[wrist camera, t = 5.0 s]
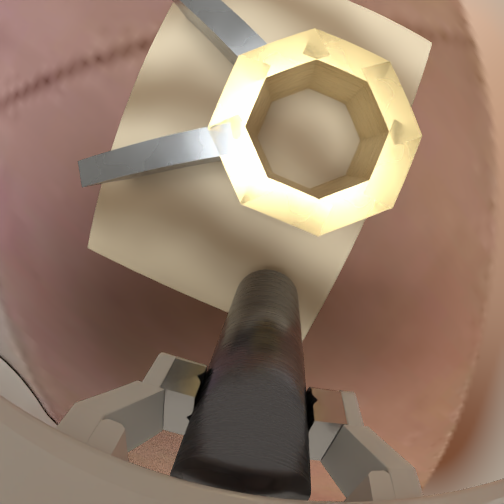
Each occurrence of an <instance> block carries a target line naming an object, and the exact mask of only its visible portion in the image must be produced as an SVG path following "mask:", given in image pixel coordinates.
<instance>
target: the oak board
mask: <svg viewBox="0 0 504 504" xmlns="http://www.w3.org/2000/svg"><path fill="white" fill-rule="evenodd" d="M221 1H223V2H224V3H225V4H226V5H227V6H228V7H229V8H230V9H232V10H233V11H234V12H235V13H236V14H237V15H238V16H239V17H240V18H241V19H242V20H243V21H245V22H246V23H247V24H248V25H249V26H250V27H251V28H252V29H253V30H254V31H255V32H256V33H257V34H258V35H259V36H260V37H261V38H262V39H263V40H264V41H265V42H266V43H267V44H269V43H272V42H274V41H277V40H280V39H283V38H286V37H289V36H292V35H295V34H298V33H301V32H304V31H307V30H310V29H314V28H316V29H318V30H321V31H323V32H326V33H328V34H331V35H333V36H336V37H338V38H341V39H343V40H345V41H348V42H350V43H352V44H355V45H357V46H359V47H361V48H363V49H365V50H368V51H370V52H372V53H374V54H376V55H378V56H380V57H382V58H384V59H386V60H388V61H390V62H391V65H392V67H393V69H394V71H395V73H396V75H397V77H398V79H399V81H400V83H401V86H402V88H403V90H404V92H405V95H406V97H407V99H408V102H409V104H410V106H411V107H412V104H413V101H414V98H415V95H416V92H417V89H418V87H419V84H420V81H421V77H422V74H423V71H424V68H425V65H426V62H427V59H428V55H429V52H430V49H431V45H432V43H431V42H430V41H428V40H426V39H425V38H423V37H421V36H419V35H418V34H416V33H414V32H412V31H411V30H409V29H407V28H405V27H403V26H401V25H399V24H398V23H396V22H394V21H392V20H390V19H388V18H386V17H384V16H382V15H379V14H377V13H375V12H373V11H371V10H369V9H366V8H364V7H362V6H360V5H357V4H355V3H352V2H350V1H348V0H221ZM233 67H234V65H233V64H232V63H231V62H230V61H229V60H228V59H227V58H226V57H225V56H224V55H223V54H222V53H221V52H220V51H219V50H218V49H217V48H216V46H215V45H214V44H213V43H212V42H211V41H210V40H209V39H208V38H207V37H206V36H205V35H204V34H203V33H202V32H201V31H200V30H199V29H198V28H197V27H195V26H194V25H193V24H192V23H191V22H190V21H189V20H188V19H187V18H186V17H185V15H184V14H183V13H182V12H181V10H180V9H179V8H178V7H177V5H176V4H175V3H174V2H173V4H172V6H171V8H170V10H169V11H168V13H167V15H166V17H165V19H164V21H163V23H162V25H161V27H160V29H159V31H158V33H157V35H156V37H155V39H154V41H153V43H152V45H151V48H150V50H149V52H148V54H147V56H146V59H145V61H144V63H143V65H142V68H141V70H140V72H139V75H138V77H137V80H136V82H135V85H134V87H133V90H132V92H131V95H130V97H129V100H128V103H127V105H126V108H125V111H124V114H123V116H122V119H121V122H120V125H119V128H118V131H117V134H116V137H115V140H114V143H113V146H112V150H115V149H118V148H122V147H125V146H129V145H132V144H136V143H140V142H144V141H147V140H151V139H155V138H159V137H163V136H168V135H172V134H176V133H180V132H185V131H190V130H194V129H199V128H204V127H208V126H209V123H210V121H211V119H212V116H213V114H214V111H215V109H216V106H217V104H218V101H219V99H220V97H221V94H222V92H223V90H224V87H225V85H226V83H227V80H228V78H229V76H230V74H231V71H232V69H233ZM258 139H259V141H260V144H261V146H262V148H263V151H264V153H265V155H266V157H267V160H268V162H269V164H270V167H271V169H272V171H273V173H274V174H277V175H279V176H282V177H284V178H286V179H289V180H291V181H294V182H296V183H298V184H301V185H303V186H305V187H307V188H312V187H315V186H317V185H320V184H323V183H325V182H328V181H330V180H333V179H336V178H338V177H341V176H344V175H346V173H347V170H348V168H349V166H350V163H351V161H352V159H353V156H354V154H355V151H356V149H357V147H358V144H359V142H360V138H359V136H358V133H357V131H356V128H355V126H354V124H353V121H352V119H351V117H350V114H349V112H348V110H347V108H346V105H345V104H343V103H341V102H339V101H337V100H335V99H332V98H330V97H328V96H325V95H323V94H321V93H318V92H316V91H314V90H311V89H309V88H308V89H306V90H303V91H300V92H297V93H295V94H292V95H289V96H287V97H284V98H281V99H279V100H276V101H274V102H272V104H271V106H270V109H269V111H268V113H267V116H266V118H265V121H264V123H263V125H262V128H261V130H260V133H259V135H258ZM112 150H111V151H112ZM365 219H366V218H365ZM365 219H362V220H360V221H357V222H354V223H352V224H349V225H347V226H344V227H341V228H339V229H336V230H334V231H331V232H328V233H326V234H323V235H321V236H319V237H317V236H316V235H313V234H311V233H309V232H306V231H304V230H302V229H299V228H297V227H295V226H292V225H290V224H288V223H285V222H283V221H281V220H278V219H276V218H274V217H271V216H269V215H266V214H264V213H262V212H259V211H257V210H254V209H252V208H249V207H247V206H245V205H242V204H240V201H239V199H238V197H237V194H236V192H235V190H234V187H233V185H232V183H231V181H230V178H229V176H228V174H227V171H226V169H225V167H224V165H223V162H222V161H217V162H211V163H206V164H200V165H195V166H189V167H184V168H179V169H174V170H169V171H164V172H160V173H155V174H150V175H146V176H141V177H137V178H133V179H127V180H120V181H114V182H108V183H103V184H102V185H101V189H100V192H99V197H98V201H97V205H96V209H95V213H94V218H93V223H92V227H91V232H90V237H89V242H88V248H89V249H91V250H93V251H95V252H96V253H98V254H100V255H103V256H105V257H107V258H109V259H111V260H113V261H115V262H117V263H119V264H121V265H123V266H125V267H127V268H129V269H131V270H133V271H135V272H138V273H140V274H142V275H144V276H146V277H148V278H150V279H153V280H155V281H157V282H159V283H161V284H163V285H166V286H168V287H170V288H172V289H175V290H177V291H179V292H181V293H184V294H186V295H188V296H190V297H193V298H195V299H197V300H200V301H202V302H204V303H207V304H209V305H211V306H214V307H216V308H218V309H221V310H223V311H226V312H229V309H230V307H231V304H232V301H233V298H234V296H235V293H236V290H237V288H238V285H239V284H240V282H241V281H242V280H243V279H244V278H245V277H246V276H247V275H249V274H250V273H252V272H255V271H258V270H264V269H267V270H275V271H278V272H280V273H282V274H284V275H286V276H287V277H288V278H289V279H290V280H291V281H292V282H293V283H294V285H295V287H296V289H297V293H298V301H299V311H300V322H301V333H302V341H303V340H304V338H305V336H306V334H307V333H308V331H309V329H310V327H311V325H312V324H313V322H314V320H315V318H316V316H317V315H318V313H319V311H320V309H321V307H322V305H323V303H324V302H325V300H326V298H327V296H328V294H329V292H330V290H331V288H332V286H333V285H334V283H335V281H336V279H337V277H338V275H339V273H340V271H341V269H342V267H343V265H344V263H345V261H346V259H347V257H348V255H349V253H350V251H351V249H352V247H353V245H354V243H355V240H356V238H357V236H358V234H359V232H360V230H361V228H362V226H363V223H364V221H365Z"/></svg>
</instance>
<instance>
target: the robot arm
mask: <svg viewBox="0 0 504 504" xmlns="http://www.w3.org/2000/svg"><path fill="white" fill-rule="evenodd" d="M206 374H207V365H204V364H201V363H197V362H194V361H190V360H187V359H184V358H180V357H176V356H173V355H170V354H167V353H163V352H162V353H160V354H159V355H158V357H157V358H156V360H155V362H154V363H153V365H152V366H151V368H150V370H149V371H148V373H147V375H146V376H145V378H144V379H143V381H142V382H141V381H135V382H132V383H130V384H127V385H124V386H122V387H119V388H116V389H113V390H111V391H108V392H105V393H102V394H99V395H97V396H94V397H91V398H88V399H85V400H82V401H79V402H76V403H75V404H74V405H73V406H72V408H71V409H70V410H69V411H68V413H67V414H66V415H65V416H64V418H63V419H62V420H61V422H60V423H59V424H58V426H57V425H56V424H55V423H54V422H53V421H52V420H51V419H50V418H49V416H48V415H47V414H46V413H45V411H44V410H43V409H42V407H41V405H40V404H39V402H38V401H37V399H36V398H35V396H34V395H33V394H32V392H31V391H30V390H29V388H28V387H27V386H26V384H25V383H24V382H23V381H22V380H21V378H20V377H19V376H18V375H17V374H16V373H15V372H14V371H13V370H12V369H11V368H10V367H9V366H8V365H7V364H6V363H5V362H4V361H3V360H2V359H1V358H0V504H504V479H500V480H497V481H493V482H490V483H486V484H482V485H479V486H475V487H471V488H466V489H462V490H457V491H452V492H447V493H442V494H436V495H429V496H423V493H422V489H421V486H420V483H419V480H418V476H417V473H416V470H415V468H414V467H413V466H412V465H411V464H409V463H408V462H407V461H406V460H405V459H404V458H403V457H401V456H400V455H399V454H398V453H397V452H396V451H395V450H393V449H392V448H391V447H390V446H389V445H388V444H387V443H386V442H385V441H383V440H382V439H381V438H380V437H379V436H378V435H377V434H376V433H375V432H373V431H372V430H371V429H370V428H369V427H367V426H364V424H363V420H362V416H361V413H360V409H359V405H358V401H357V398H356V394H355V393H354V392H349V391H336V390H328V389H321V388H314V387H309V388H308V389H307V391H306V399H307V415H308V433H309V453H310V459H311V460H320V461H321V463H322V464H323V466H324V467H325V469H326V470H327V472H328V473H329V474H330V476H331V477H332V479H333V480H334V481H335V483H336V484H337V486H338V487H339V488H340V490H341V491H342V493H343V494H344V495H345V497H346V498H347V499H346V500H345V501H344V502H328V501H306V500H293V499H283V498H274V497H266V496H259V495H252V494H246V493H240V492H235V491H229V490H224V489H220V488H215V487H211V486H206V485H202V484H198V483H194V482H190V481H186V480H183V479H179V478H176V477H172V476H169V475H166V474H162V473H159V472H156V471H153V470H150V469H147V468H144V467H141V466H139V465H136V464H133V463H130V462H129V460H128V452H129V451H131V450H133V449H134V448H136V447H138V446H139V445H141V444H143V443H144V442H146V441H147V440H149V439H150V438H152V437H154V436H155V435H157V434H158V433H160V432H161V431H162V429H163V430H166V431H170V432H174V433H177V434H181V435H184V434H185V431H186V429H187V426H188V423H189V420H190V417H191V415H192V412H193V410H194V407H195V404H196V402H197V399H198V396H199V392H200V390H201V387H202V385H203V382H204V379H205V376H206Z"/></svg>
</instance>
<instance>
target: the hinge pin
mask: <svg viewBox="0 0 504 504" xmlns="http://www.w3.org/2000/svg"><path fill="white" fill-rule="evenodd" d="M170 476H172V477H176V478H179V479H183V480H186V481H190V482H194V483H198V484H202V485H206V486H211V487H215V488H220V489H224V490H229V491H235V492H240V493H246V494H252V495H259V496H266V497H274V498H283V499H293V500H306V501H308V499H309V498H310V495H311V478H310V453H309V433H308V415H307V399H306V384H305V370H304V357H303V345H302V333H301V322H300V311H299V301H298V293H297V289H296V287H295V285H294V283H293V282H292V281H291V280H290V279H289V278H288V277H287V276H286V275H284V274H282V273H280V272H278V271H275V270H267V269H264V270H258V271H255V272H252V273H250V274H249V275H247V276H246V277H245V278H244V279H243V280H242V281H241V282H240V284H239V285H238V288H237V290H236V293H235V296H234V298H233V301H232V304H231V307H230V309H229V312H228V315H227V318H226V321H225V323H224V326H223V329H222V332H221V334H220V337H219V340H218V343H217V345H216V348H215V351H214V354H213V356H212V359H211V362H210V365H209V368H208V370H207V374H206V376H205V379H204V382H203V385H202V387H201V390H200V392H199V396H198V399H197V402H196V404H195V407H194V410H193V412H192V415H191V417H190V420H189V423H188V426H187V429H186V431H185V434H184V437H183V440H182V442H181V445H180V448H179V451H178V454H177V456H176V459H175V462H174V465H173V467H172V470H171V473H170Z"/></svg>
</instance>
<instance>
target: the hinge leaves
mask: <svg viewBox="0 0 504 504" xmlns="http://www.w3.org/2000/svg"><path fill="white" fill-rule="evenodd" d="M173 2H174V3H175V4H176V5H177V7H178V8H179V9H180V10H181V12H182V13H183V14H184V15H185V17H186V18H187V19H188V20H189V21H190V22H191V23H192V24H193V25H194V26H195V27H197V28H198V29H199V30H200V31H201V32H202V33H203V34H204V35H205V36H206V37H207V38H208V39H209V40H210V41H211V42H212V43H213V44H214V45H215V46H216V48H217V49H218V50H219V51H220V52H221V53H222V54H223V55H224V56H225V57H226V58H227V59H228V60H229V61H230V62H231V63H232V64H233V65H234V67H233V69H232V71H231V74H230V76H229V78H228V80H227V83H226V85H225V87H224V90H223V92H222V94H221V97H220V99H219V101H218V104H217V106H216V109H215V111H214V114H213V116H212V119H211V121H210V123H209V126H208V127H204V128H199V129H194V130H190V131H185V132H180V133H176V134H172V135H168V136H163V137H159V138H155V139H151V140H147V141H144V142H140V143H136V144H132V145H129V146H125V147H122V148H118V149H115V150H112V151H108V152H105V153H102V154H99V155H95V156H92V157H89V158H86V159H83V160H80V161H78V165H79V171H80V178H81V184H82V187H86V186H91V185H97V184H103V183H108V182H114V181H120V180H127V179H133V178H137V177H141V176H146V175H150V174H155V173H160V172H164V171H169V170H174V169H179V168H184V167H189V166H195V165H200V164H206V163H211V162H217V161H222V162H223V165H224V167H225V169H226V171H227V174H228V176H229V178H230V181H231V183H232V185H233V187H234V190H235V192H236V194H237V197H238V199H239V201H240V204H242V205H245V206H247V207H249V208H252V209H254V210H257V211H259V212H262V213H264V214H266V215H269V216H271V217H274V218H276V219H278V220H281V221H283V222H285V223H288V224H290V225H292V226H295V227H297V228H299V229H302V230H304V231H306V232H309V233H311V234H313V235H316V236H317V237H319V236H321V235H323V234H326V233H328V232H331V231H334V230H336V229H339V228H341V227H344V226H347V225H349V224H352V223H354V222H357V221H360V220H362V219H365V218H367V217H370V216H372V215H375V214H378V213H380V212H383V211H385V210H388V209H390V208H393V206H394V203H395V201H396V199H397V197H398V194H399V192H400V190H401V187H402V185H403V182H404V180H405V178H406V175H407V173H408V170H409V168H410V165H411V163H412V160H413V158H414V155H415V153H416V150H417V148H418V145H419V142H420V140H421V137H422V134H421V132H420V129H419V126H418V124H417V121H416V119H415V116H414V114H413V111H412V109H411V106H410V104H409V102H408V99H407V97H406V95H405V92H404V90H403V88H402V86H401V83H400V81H399V79H398V77H397V75H396V73H395V71H394V69H393V67H392V65H391V62H390V61H388V60H386V59H384V58H382V57H380V56H378V55H376V54H374V53H372V52H370V51H368V50H365V49H363V48H361V47H359V46H357V45H355V44H352V43H350V42H348V41H345V40H343V39H341V38H338V37H336V36H333V35H331V34H328V33H326V32H323V31H321V30H318V29H316V28H314V29H310V30H307V31H304V32H301V33H298V34H295V35H292V36H289V37H286V38H283V39H280V40H277V41H274V42H272V43H269V44H267V43H266V42H265V41H264V40H263V39H262V38H261V37H260V36H259V35H258V34H257V33H256V32H255V31H254V30H253V29H252V28H251V27H250V26H249V25H248V24H247V23H246V22H245V21H243V20H242V19H241V18H240V17H239V16H238V15H237V14H236V13H235V12H234V11H233V10H232V9H230V8H229V7H228V6H227V5H226V4H225V3H224V2H223V1H221V0H173ZM308 88H309V89H311V90H314V91H316V92H318V93H321V94H323V95H325V96H328V97H330V98H332V99H335V100H337V101H339V102H341V103H343V104H345V105H346V108H347V110H348V112H349V114H350V117H351V119H352V121H353V124H354V126H355V128H356V131H357V133H358V136H359V138H360V142H359V144H358V147H357V149H356V151H355V154H354V156H353V159H352V161H351V163H350V166H349V168H348V170H347V173H346V175H344V176H341V177H338V178H336V179H333V180H330V181H328V182H325V183H323V184H320V185H317V186H315V187H312V188H307V187H305V186H303V185H301V184H298V183H296V182H294V181H291V180H289V179H286V178H284V177H282V176H279V175H277V174H274V173H273V171H272V169H271V167H270V164H269V162H268V160H267V157H266V155H265V153H264V151H263V148H262V146H261V144H260V141H259V139H258V135H259V133H260V130H261V128H262V125H263V123H264V121H265V118H266V116H267V113H268V111H269V109H270V106H271V104H272V102H274V101H276V100H279V99H281V98H284V97H287V96H289V95H292V94H295V93H297V92H300V91H303V90H306V89H308Z"/></svg>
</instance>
